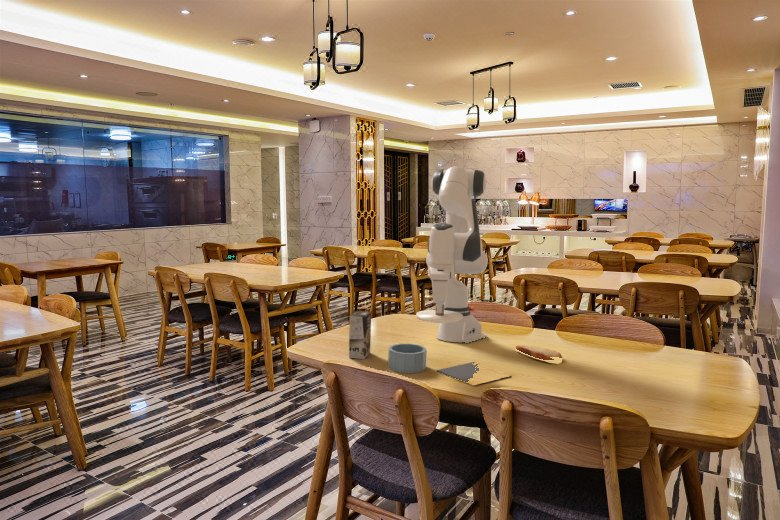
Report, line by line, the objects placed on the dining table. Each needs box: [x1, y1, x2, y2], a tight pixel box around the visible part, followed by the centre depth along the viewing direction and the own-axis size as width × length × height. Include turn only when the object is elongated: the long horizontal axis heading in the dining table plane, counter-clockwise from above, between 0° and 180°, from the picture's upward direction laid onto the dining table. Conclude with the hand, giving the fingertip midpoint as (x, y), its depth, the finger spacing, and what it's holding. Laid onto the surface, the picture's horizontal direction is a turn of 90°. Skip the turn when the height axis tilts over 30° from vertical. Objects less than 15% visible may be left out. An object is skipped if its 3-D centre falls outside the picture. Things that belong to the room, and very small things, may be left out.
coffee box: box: [348, 310, 372, 360], centre depth 208 cm, size 9×6×16 cm
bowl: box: [387, 343, 427, 374], centre depth 195 cm, size 13×13×7 cm
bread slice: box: [515, 344, 563, 360], centre depth 213 cm, size 18×18×4 cm
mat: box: [436, 361, 479, 382], centre depth 190 cm, size 18×18×1 cm
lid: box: [415, 304, 463, 324], centre depth 190 cm, size 16×16×4 cm
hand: (439, 311), depth 190 cm, fingers closed on lid, 3 cm apart
